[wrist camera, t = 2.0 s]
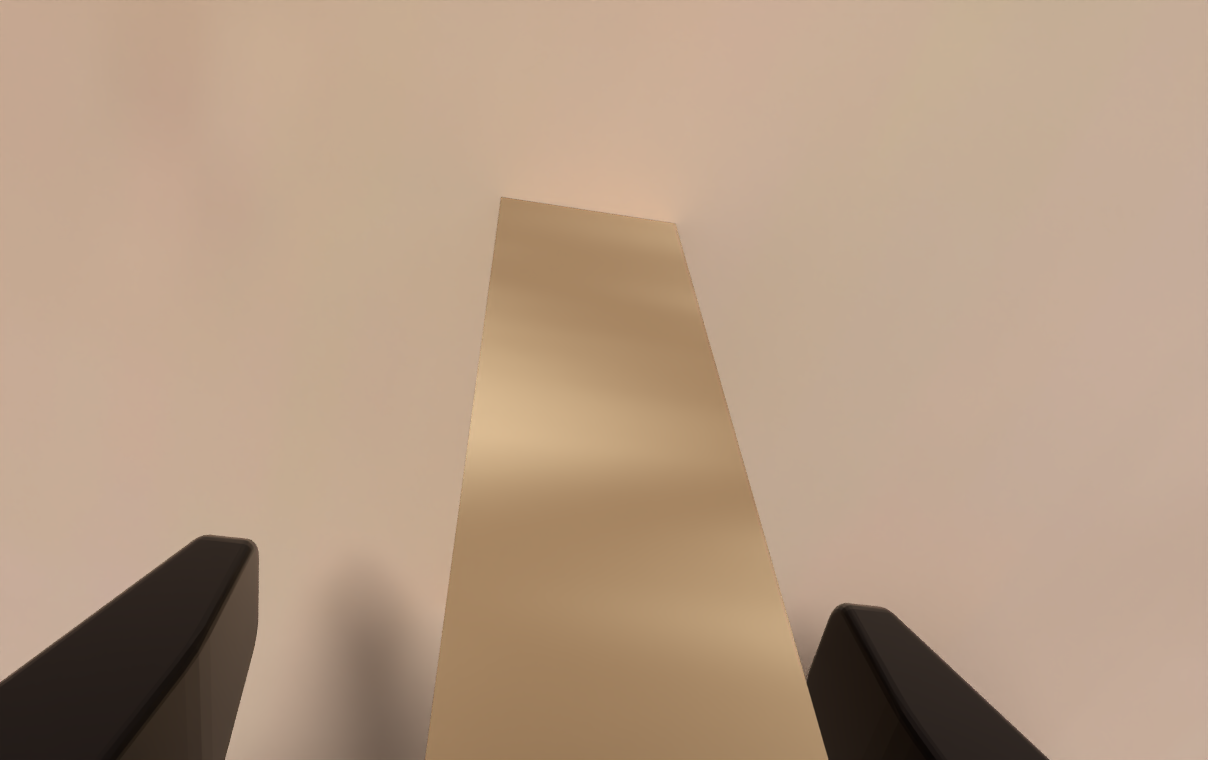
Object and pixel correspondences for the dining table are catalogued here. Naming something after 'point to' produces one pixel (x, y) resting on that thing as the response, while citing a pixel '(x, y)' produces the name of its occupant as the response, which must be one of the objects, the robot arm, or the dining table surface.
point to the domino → (608, 521)
